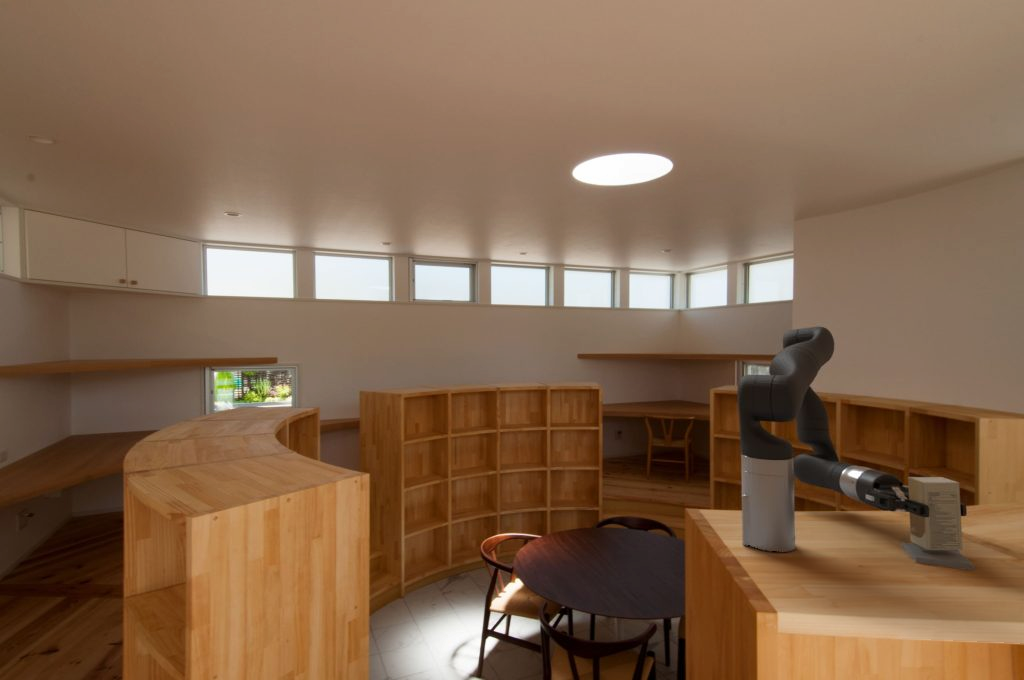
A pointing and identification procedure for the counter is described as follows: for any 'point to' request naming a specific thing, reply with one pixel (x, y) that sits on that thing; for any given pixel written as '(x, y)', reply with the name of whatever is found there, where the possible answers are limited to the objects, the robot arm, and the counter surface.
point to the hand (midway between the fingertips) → (946, 511)
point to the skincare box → (936, 513)
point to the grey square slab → (937, 557)
